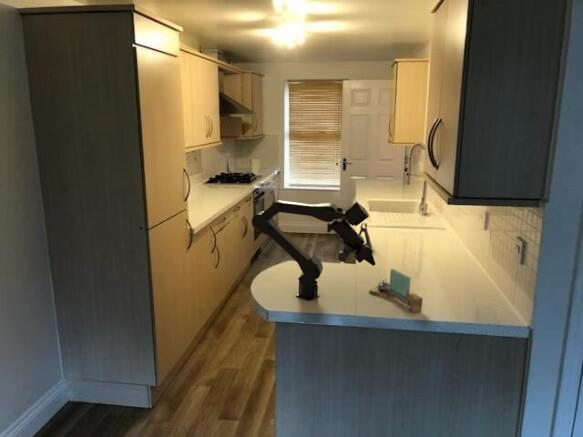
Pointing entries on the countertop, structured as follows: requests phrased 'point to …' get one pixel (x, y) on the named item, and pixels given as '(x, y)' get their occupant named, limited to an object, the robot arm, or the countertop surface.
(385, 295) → the pintle block
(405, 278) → the link
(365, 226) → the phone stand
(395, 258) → the countertop surface
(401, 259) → the countertop surface
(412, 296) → the block
